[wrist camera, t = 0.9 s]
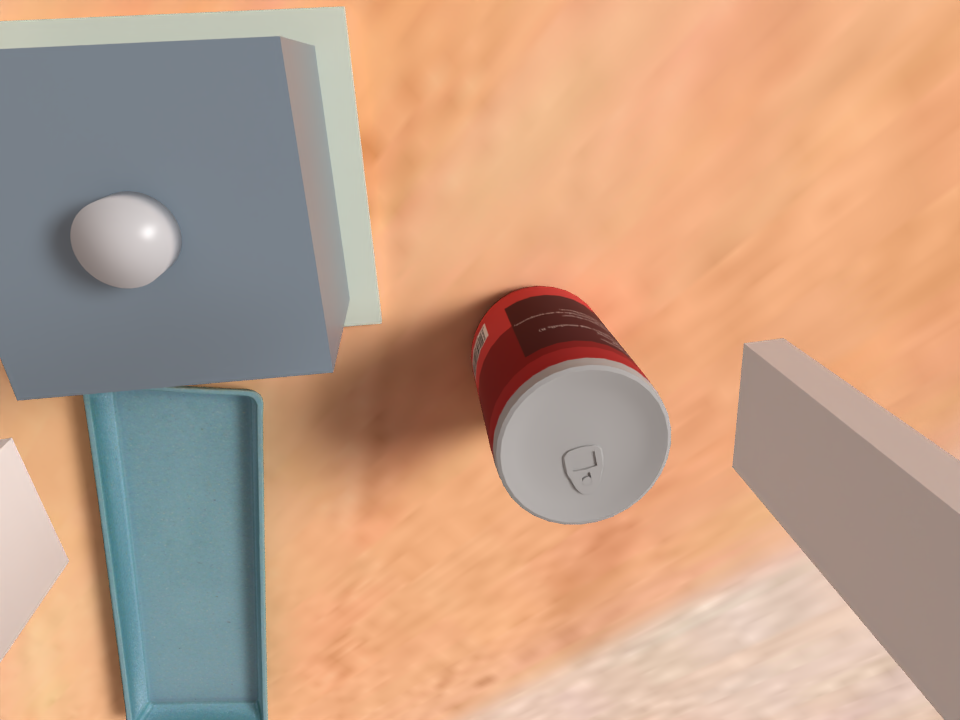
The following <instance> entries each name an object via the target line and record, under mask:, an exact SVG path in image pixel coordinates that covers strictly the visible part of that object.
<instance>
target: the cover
mask: <svg viewBox="0 0 960 720" xmlns="http://www.w3.org/2000/svg"><path fill="white" fill-rule="evenodd" d="M349 301H350V296H349V289H348V282H347V275H346V268H345V260H344V253H343V246H342V239H341V232H340V225H339V217H338V210H337V203H336V196H335V189H334V181H333V174H332V167H331V160H330V153H329V145H328V138H327V131H326V124H325V117H324V110H323V102H322V95H321V88H320V81H319V74H318V66H317V59H316V52H315V46H313V45H309V44H306V43H302V42H299V41H295V40H292V39H288V38H285V37H281V36H270V37H249V38H227V39H205V40H184V41H162V42H141V43H119V44H97V45H76V46H54V47H33V48H11V49H0V358H1V361H2V363H3V366H4V368H5V371H6V373H7V376H8V378H9V381H10V383H11V386H12V389H13V391H14V394H15V396H16V399H17V401H18V400H29V399H40V398H51V397H62V396H74V395H85V394H96V393H107V392H119V391H130V390H141V389H152V388H164V387H175V386H186V385H197V384H209V383H220V382H231V381H242V380H254V379H265V378H276V377H287V376H298V375H310V374H321V373H332V372H333V371H334V367H335V362H336V358H337V354H338V349H339V345H340V341H341V336H342V332H343V327H344V323H345V319H346V314H347V310H348V306H349Z"/></svg>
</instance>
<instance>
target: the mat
mask: <svg viewBox="0 0 960 720" xmlns="http://www.w3.org/2000/svg"><path fill="white" fill-rule="evenodd" d="M270 36H281V37H285V38H288V39H292V40H295V41H299V42H302V43H306V44H309V45H313V46H315V52H316V59H317V66H318V74H319V81H320V88H321V95H322V102H323V110H324V117H325V124H326V131H327V138H328V145H329V153H330V160H331V167H332V174H333V181H334V189H335V196H336V203H337V210H338V217H339V225H340V232H341V239H342V246H343V253H344V260H345V268H346V275H347V282H348V289H349V296H350V301H349V306H348V310H347V314H346V319H345V323H344V327H346V326H358V325H370V324H382V315H381V307H380V299H379V290H378V282H377V273H376V265H375V256H374V248H373V240H372V231H371V223H370V214H369V206H368V197H367V189H366V181H365V172H364V164H363V155H362V147H361V138H360V130H359V122H358V113H357V105H356V96H355V88H354V79H353V71H352V63H351V54H350V46H349V37H348V29H347V20H346V12H345V7H321V8H298V9H275V10H251V11H228V12H205V13H181V14H158V15H135V16H112V17H88V18H65V19H42V20H18V21H0V49H11V48H33V47H54V46H76V45H97V44H119V43H141V42H162V41H184V40H205V39H227V38H249V37H270Z"/></svg>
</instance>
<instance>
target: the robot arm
mask: <svg viewBox="0 0 960 720" xmlns="http://www.w3.org/2000/svg"><path fill="white" fill-rule="evenodd" d="M732 467H733V468H734V469H735V471H736V472H737V473H738V474H739V475H740V477H741V478H742V479H743V480H744V481H745V483H746V484H747V485H748V486H749V487H750V488H751V490H752V491H753V492H754V493H755V494H756V496H757V497H758V498H759V499H760V500H761V502H762V503H763V504H764V505H765V506H766V508H767V509H768V510H769V511H770V512H771V514H772V515H773V516H774V517H775V518H776V520H777V521H778V522H779V523H780V524H781V525H782V527H783V528H784V529H785V530H786V531H787V533H788V534H789V535H790V536H791V537H792V539H793V540H794V541H795V542H796V543H797V545H798V546H799V547H800V548H801V549H802V551H803V552H804V553H805V554H806V555H807V557H808V558H809V559H810V560H811V561H812V562H813V564H814V565H815V566H816V567H817V568H818V570H819V571H820V572H821V573H822V574H823V576H824V577H825V578H826V579H827V580H828V582H829V583H830V584H831V585H832V586H833V588H834V589H835V590H836V591H837V592H838V593H839V595H840V596H841V597H842V598H843V599H844V601H845V602H846V603H847V604H848V605H849V607H850V608H851V609H852V610H853V611H854V613H855V614H856V615H857V616H858V617H859V619H860V620H861V621H862V622H863V623H864V625H865V626H866V627H867V628H868V629H869V630H870V632H871V633H872V634H873V635H874V636H875V638H876V639H877V640H878V641H879V642H880V644H881V645H882V646H883V647H884V648H885V650H886V651H887V652H888V653H889V654H890V656H891V657H892V658H893V659H894V660H895V662H896V663H897V664H898V665H899V666H900V667H901V669H902V670H903V671H904V672H905V673H906V675H907V676H908V677H909V678H910V679H911V681H912V682H913V683H914V684H915V685H916V687H917V688H918V689H919V690H920V691H921V693H922V694H923V695H924V696H925V697H926V699H927V700H928V701H929V702H930V703H931V704H932V706H933V707H934V708H935V709H936V710H937V712H938V713H939V714H940V715H941V716H942V718H943V719H944V720H960V461H959V460H958V459H956V458H955V457H953V456H952V455H950V454H949V453H947V452H946V451H945V450H943V449H942V448H940V447H939V446H937V445H936V444H935V443H933V442H932V441H930V440H929V439H927V438H926V437H925V436H923V435H922V434H920V433H919V432H917V431H916V430H914V429H913V428H912V427H910V426H909V425H907V424H906V423H904V422H903V421H902V420H900V419H899V418H897V417H896V416H894V415H893V414H891V413H890V412H889V411H887V410H886V409H884V408H883V407H881V406H880V405H879V404H877V403H876V402H874V401H873V400H871V399H870V398H869V397H867V396H866V395H864V394H863V393H861V392H860V391H858V390H857V389H856V388H854V387H853V386H851V385H850V384H848V383H847V382H846V381H844V380H843V379H841V378H840V377H838V376H837V375H836V374H834V373H833V372H831V371H830V370H828V369H827V368H825V367H824V366H823V365H821V364H820V363H818V362H817V361H815V360H814V359H813V358H811V357H810V356H808V355H807V354H805V353H804V352H802V351H801V350H800V349H798V348H797V347H795V346H794V345H792V344H791V343H790V342H788V341H787V340H785V339H784V338H782V339H774V340H766V341H758V342H751V343H744V348H743V359H742V370H741V381H740V391H739V402H738V413H737V423H736V434H735V445H734V456H733V466H732ZM68 562H69V560H68V558H67V556H66V553H65V551H64V549H63V547H62V545H61V543H60V540H59V538H58V536H57V534H56V532H55V530H54V528H53V525H52V523H51V521H50V519H49V517H48V515H47V512H46V510H45V508H44V506H43V504H42V502H41V500H40V497H39V495H38V493H37V491H36V489H35V487H34V484H33V482H32V480H31V478H30V476H29V474H28V471H27V469H26V467H25V465H24V463H23V461H22V459H21V456H20V454H19V452H18V450H17V448H16V446H15V443H14V441H13V439H12V438H8V439H1V440H0V662H1V661H2V659H3V658H4V656H5V655H6V653H7V652H8V650H9V649H10V647H11V646H12V644H13V643H14V641H15V640H16V639H17V637H18V636H19V634H20V633H21V631H22V630H23V628H24V627H25V625H26V624H27V622H28V621H29V619H30V618H31V616H32V615H33V614H34V612H35V611H36V609H37V608H38V606H39V605H40V603H41V602H42V600H43V599H44V597H45V596H46V594H47V593H48V591H49V590H50V589H51V587H52V586H53V584H54V583H55V581H56V580H57V578H58V577H59V575H60V574H61V572H62V571H63V569H64V568H65V567H66V565H67V564H68Z"/></svg>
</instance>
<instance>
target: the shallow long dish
mask: <svg viewBox="0 0 960 720" xmlns="http://www.w3.org/2000/svg"><path fill="white" fill-rule="evenodd" d="M83 399H84V405H85V411H86V418H87V425H88V432H89V439H90V446H91V453H92V460H93V468H94V475H95V481H96V489H97V495H98V503H99V511H100V518H101V527H102V534H103V541H104V549H105V556H106V564H107V571H108V579H109V587H110V595H111V603H112V610H113V618H114V623H115V632H116V639H117V647H118V655H119V663H120V670H121V677H122V684H123V694H124V700H125V710H126V720H268V704H267V663H266V662H267V655H266V605H265V545H264V470H263V399H262V397H261V395H260V394H259V393H257V392H255V391H253V390H249V389H228V388H211V387H194V386H175V387H164V388H152V389H141V390H130V391H119V392H107V393H96V394H85V395H83Z"/></svg>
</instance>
